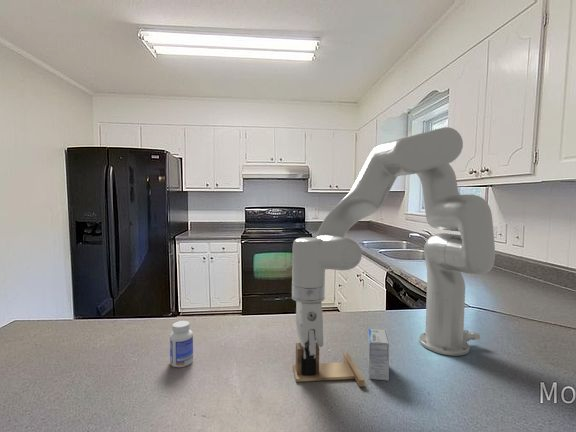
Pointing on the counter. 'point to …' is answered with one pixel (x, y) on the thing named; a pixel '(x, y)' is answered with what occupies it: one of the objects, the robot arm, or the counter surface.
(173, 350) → the pill bottle
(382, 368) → the medicine box
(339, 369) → the wooden t-shaped piece
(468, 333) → the robot arm
